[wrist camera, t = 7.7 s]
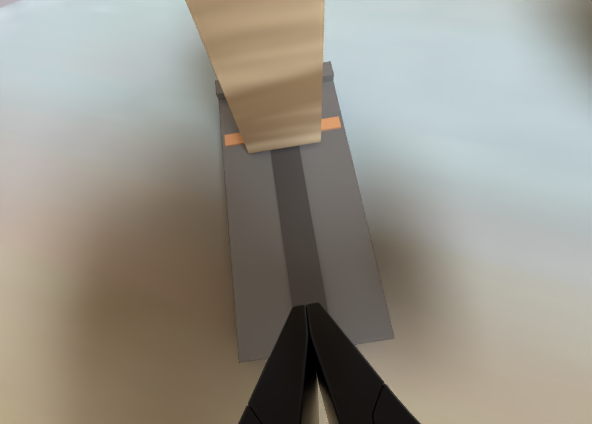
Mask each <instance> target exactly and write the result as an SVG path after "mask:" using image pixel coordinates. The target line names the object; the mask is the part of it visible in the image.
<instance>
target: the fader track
mask: <svg viewBox="0 0 592 424" xmlns="http://www.w3.org/2000/svg"><path fill="white" fill-rule="evenodd" d="M333 77H334V74H333V70H332V66H331V61H330V62H324V63H323V77H322V116H321V142H317V143H311V144H305V145H299V146H292V147H286V148H280V149H274V150H268V151H262V152H256V153H250V154H249V153H248V150H247V148H246V146H245V143H244V141H243V138H242V136H241V134H240V131H239V129H238V126H237V124H236V121H235V119H234V117H233V114H232V112H231V109H230V107H229V105H228V102H227V100H226V97H225V95H224V92H223V90H222V88H221V85H220V83H219V80H216V81H215V84H216V95H217V97H218V99H219V109H220V122H221V135H222V148H223V161H224V174H225V187H226V200H227V213H228V226H229V239H230V252H231V265H232V278H233V291H234V304H235V317H236V330H237V343H238V356H239V363H240V362H246V361H253V360H259V359H266V358H269V356H270V354H271V352H272V350H273V348H274V345H275V343H276V341H277V339H278V337H279V335H280V332H281V330H282V328H283V326H284V324H285V322H286V319H287V317H288V315H289V313H290V311H291V309H292V307H293V306H298V305H306V306H307V304H311V303H317V302H319V303H320V304H321V305H322V306H323V307H324V308H325V310H326V311H327V312H328V313H329V315H330V316H331V317H332V318H333V319H334V321H335V322H336V323H337V324H338V326H339V327H340V328H341V329H342V331H343V332H344V333H345V334H346V335H347V337H348V338H349V339H350V340H351V342H352V343H353V344H354V345H355V344H362V343H368V342H375V341H381V340H387V339H394V334H393V330H392V326H391V322H390V318H389V313H388V309H387V305H386V301H385V297H384V292H383V288H382V284H381V280H380V276H379V271H378V267H377V263H376V259H375V255H374V250H373V246H372V242H371V238H370V233H369V229H368V225H367V221H366V217H365V212H364V208H363V204H362V200H361V196H360V191H359V187H358V183H357V179H356V175H355V170H354V166H353V162H352V158H351V154H350V149H349V145H348V141H347V137H346V133H345V128H344V124H343V120H342V116H341V111H340V107H339V103H338V99H337V95H336V90H335V86H334V82H333Z"/></svg>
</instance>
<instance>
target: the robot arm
mask: <svg viewBox="0 0 592 424" xmlns="http://www.w3.org/2000/svg"><path fill="white" fill-rule="evenodd" d="M316 372H317V373H316ZM317 378H318V382H317ZM318 383H319V387H320V391H321V395H322V399H323V403H324V406H325V410H326V414H327V418H328V422H329V424H421V423H420V422H419V421H418V420H417V419H416V418H415V417H414V416H413V415H412V414H411V413H410V412H409V411H408V410H407V408H406V407H405V406H404V405H403V404H402V403H401V401H400V400H399V399H398V398H397V397H396V396H395V394H394V393H393V392H392V391H391V389H390V388H389V387H388V386H387V385H386V384H384V381H383V380H382V379H381V377H380V376H379V375H378V374H377V372H376V371H375V370H374V369H373V368H372V366H371V365H370V364H369V363H368V361H367V360H366V359H365V358H364V356H363V355H362V354H361V353H360V351H359V350H358V349H357V348H356V347H355V345H354V344H353V343H352V342H351V340H350V339H349V338H348V337H347V335H346V334H345V333H344V332H343V331H342V329H341V328H340V327H339V326H338V324H337V323H336V322H335V321H334V319H333V318H332V317H331V316H330V315H329V313H328V312H327V311H326V310H325V308H324V307H323V306H322V305H321V304H320V303H319V302H317V303H311V304H307V306H306V305H298V306H293V307H292V309H291V311H290V313H289V315H288V317H287V319H286V322H285V324H284V326H283V328H282V330H281V332H280V335H279V337H278V339H277V341H276V343H275V345H274V348H273V350H272V352H271V354H270V356H269V358H268V361H267V363H266V365H265V367H264V369H263V371H262V374H261V376H260V378H259V380H258V382H257V384H256V387H255V389H254V391H253V393H252V395H251V398H250V400H249V402H248V406H246V408H245V410H244V412H243V415H242V417H241V419H240V421H239V423H238V424H319V411H318Z"/></svg>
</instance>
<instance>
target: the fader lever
mask: <svg viewBox="0 0 592 424" xmlns="http://www.w3.org/2000/svg"><path fill="white" fill-rule="evenodd" d="M185 1H186V3H187V5H188V8H189V10H190V13H191V15H192V18H193V20H194V22H195V25H196V27H197V30H198V32H199V34H200V37H201V39H202V42H203V44H204V47H205V49H206V51H207V54H208V56H209V59H210V61H211V63H212V66H213V68H214V71H215V73H216V76H217V78H218V80H219V83H220V85H221V88H222V90H223V92H224V95H225V97H226V100H227V102H228V105H229V107H230V109H231V112H232V114H233V117H234V119H235V121H236V124H237V126H238V129H239V131H240V134H241V136H242V138H243V141H244V143H245V146H246V148H247V150H248V153H249V154H250V153H256V152H262V151H268V150H274V149H280V148H286V147H292V146H299V145H305V144H311V143H317V142H321V116H322V77H323V39H324V0H185Z"/></svg>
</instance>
